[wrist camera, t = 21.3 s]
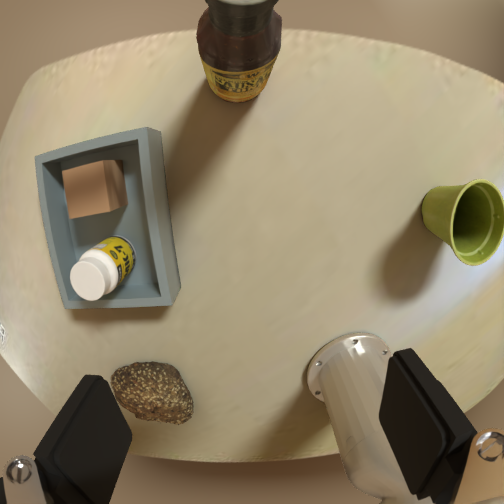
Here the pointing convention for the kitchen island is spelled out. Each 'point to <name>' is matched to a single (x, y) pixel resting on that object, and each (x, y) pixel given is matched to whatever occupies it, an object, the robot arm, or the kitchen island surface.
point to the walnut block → (95, 188)
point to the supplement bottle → (103, 267)
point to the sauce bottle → (239, 46)
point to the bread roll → (153, 392)
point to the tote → (113, 219)
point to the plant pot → (466, 219)
